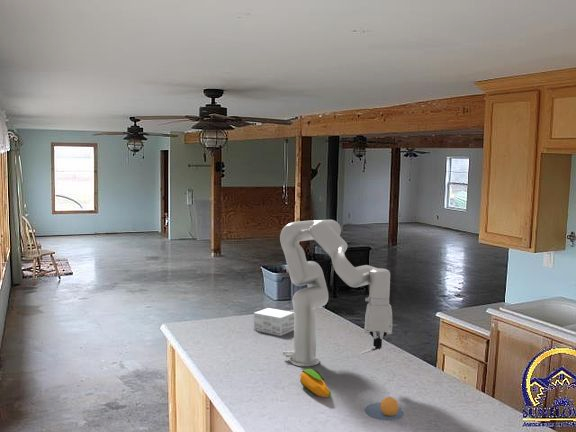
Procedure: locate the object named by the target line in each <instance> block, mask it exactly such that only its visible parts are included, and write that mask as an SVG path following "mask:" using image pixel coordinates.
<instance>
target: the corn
mask: <svg viewBox="0 0 576 432" xmlns="http://www.w3.org/2000/svg"><path fill="white" fill-rule="evenodd" d="M299 376H300V379H299V382H300V383H301V386H303V388H304V389H306V391H308V392H309V393H310V394H311V395H313V396H315V397H316V396H318V397H323V398H327V397H328V398H330V397H332V393H331V391H330V390H329V388H328V386H327V384H326V383H325V379H324V377H323V375H322V374H321V373H320V372H319V371H317V370H316V369H311V368H306V369H304V370H302V371H301V374H300V375H299Z"/></svg>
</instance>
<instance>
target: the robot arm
mask: <svg viewBox="0 0 576 432" xmlns="http://www.w3.org/2000/svg"><path fill="white" fill-rule="evenodd" d="M341 232H342V228H341V225H340V223H338V221H336V220H334V219H318V220H317V219H313V220H310V219H309V220H302V221H301V220H299V221H293V222H289V223H288V224H286V225H285V226H283V228H282V229H281V231H280V235H279V241H280V245H281V249H282V251H283V254H284V257H285V261H286V266H287V267H286V268H287V271H288V274H289V277H290V281H291V283H292V284H293V285H294V286H295V287H297V286H298V287H301V286H306V285H307V287H305V288H301V289H299V290H297V291H296V292H295V293H294V294H293V296H292V299H291V301H292V303H291V304H292V309H293V312H294V330H293V348H292V350H290V351H288V350H283V351H282V355H283V356H285V358H289V362H290V363H291V364H292V365H294V366H298V367H305V368H306V367H313V366H316V365H318V364H319V363H320V358H319V356H317V328H318V327H317V325H318V322H317V317H316V314H315V310H316V309H319V308H322V307H324V306H325V305H327V303H328V302H329V289H328V286H327V282H326V279H325V275H324V271H323V269H322V267H321V266H320V264H319V263H318V262H316V261H313V260H309V261H308V260H307V257H306V253H305V249H304V248H303V247H302V245H300V242H305V241H315V242H316V243H317V244H318V246H320V247H321V248H322V249H323V250H324V251H325V253H326V254H327V255H328V256H329V257H330V258H331V264H332V266H333V270H334V271H335V273H336V275H338V278H340V279H341V280H342V281H343V282H344V283H345V284H346V285H347V286H349V287H351V288H359V287H362V286H363V287H364V286H367V285H369V295H368V297H365V302H367V304H366V307H365V308H366V309H365V315H364V316H365V317H364V327H363V328H364V329H363V332H364V334H367V335H371V337H372V338H373V347H374V348H375V350H381V348H382V345H383V338H384V337H386V335H392V334H393V310H392V305H391V304H390V293H391V292H390V290H391V287H390V286H391V272H390V270H388V269H387V268H383V267H381V268H378V267H376V266H375V267H374V266H372V265H369V264H364V265H358V266H354V265H353V264H352V263H351V262H350V261H349V260H348V258H347V257H346V254H345V253H346V251H347V249H348V243H347V242H346V241H345V240H344V239H343V237H342V236H341V234H342V233H341ZM377 333H378V336H377ZM380 347H381V348H380Z"/></svg>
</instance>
